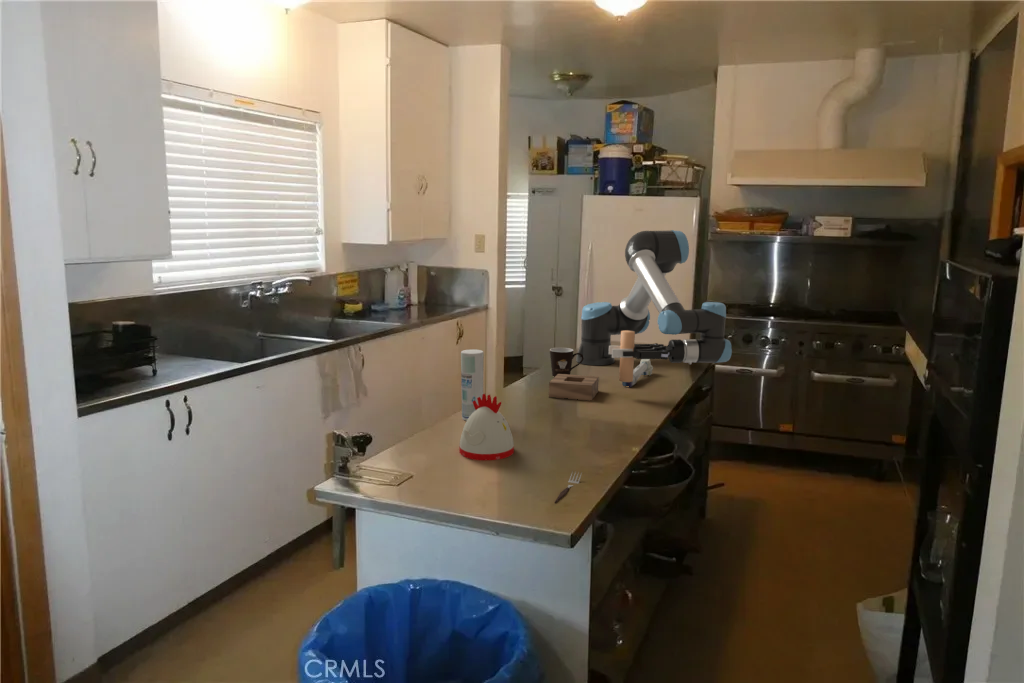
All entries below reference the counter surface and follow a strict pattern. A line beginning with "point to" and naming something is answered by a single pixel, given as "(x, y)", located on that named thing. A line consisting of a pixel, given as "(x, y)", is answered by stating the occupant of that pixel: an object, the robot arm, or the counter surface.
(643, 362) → the toothbrush head
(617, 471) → the counter surface
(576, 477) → the fork
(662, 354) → the robot arm
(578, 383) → the socket block
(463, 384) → the spray can
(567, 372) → the coffee mug
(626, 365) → the peg
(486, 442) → the kitchen timer
